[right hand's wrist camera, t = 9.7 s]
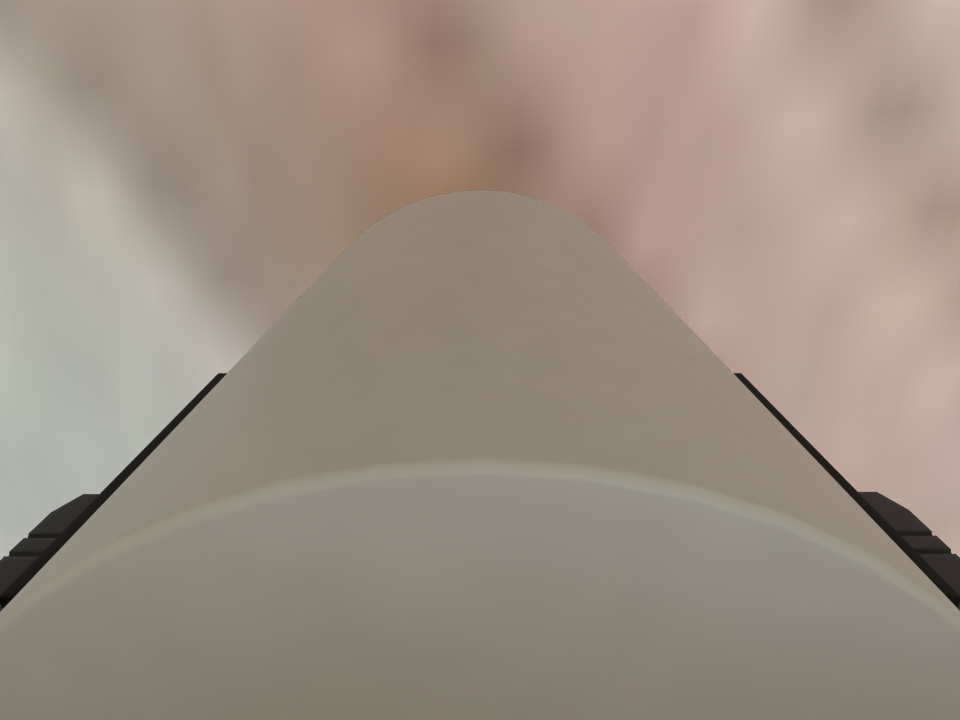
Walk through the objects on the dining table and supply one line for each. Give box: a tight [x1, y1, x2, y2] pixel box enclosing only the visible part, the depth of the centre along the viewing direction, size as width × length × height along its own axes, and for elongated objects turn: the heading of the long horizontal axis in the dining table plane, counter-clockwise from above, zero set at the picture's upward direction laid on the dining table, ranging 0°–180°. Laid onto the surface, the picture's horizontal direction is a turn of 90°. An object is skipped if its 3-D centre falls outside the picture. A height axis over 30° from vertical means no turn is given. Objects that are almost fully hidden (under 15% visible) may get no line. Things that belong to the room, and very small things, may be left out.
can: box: [0, 190, 960, 720], centre depth 11 cm, size 9×9×13 cm
